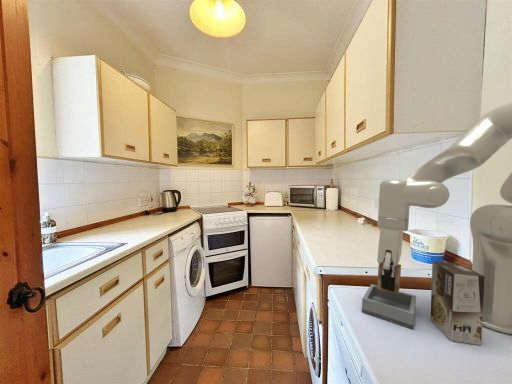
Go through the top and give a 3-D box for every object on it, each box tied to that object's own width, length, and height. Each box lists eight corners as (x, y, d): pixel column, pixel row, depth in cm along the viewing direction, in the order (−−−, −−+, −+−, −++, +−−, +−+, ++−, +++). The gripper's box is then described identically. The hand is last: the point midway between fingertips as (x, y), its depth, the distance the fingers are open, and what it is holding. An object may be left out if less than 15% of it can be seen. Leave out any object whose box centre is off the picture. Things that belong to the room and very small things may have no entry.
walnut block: (399, 288, 65) (401, 264, 65) (397, 294, 61) (399, 268, 61) (380, 283, 68) (381, 260, 68) (377, 289, 64) (378, 264, 64)
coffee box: (482, 346, 51) (487, 276, 51) (450, 341, 52) (454, 273, 52) (456, 322, 60) (459, 262, 60) (428, 318, 61) (431, 260, 61)
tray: (415, 309, 66) (416, 295, 66) (413, 329, 56) (413, 314, 56) (370, 296, 73) (371, 284, 73) (361, 312, 64) (362, 298, 64)
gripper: (382, 218, 73) (379, 273, 74) (371, 225, 60) (368, 292, 60) (410, 221, 68) (407, 280, 69) (405, 229, 55) (401, 302, 56)
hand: (389, 285), depth 65 cm, fingers closed on walnut block, 5 cm apart
